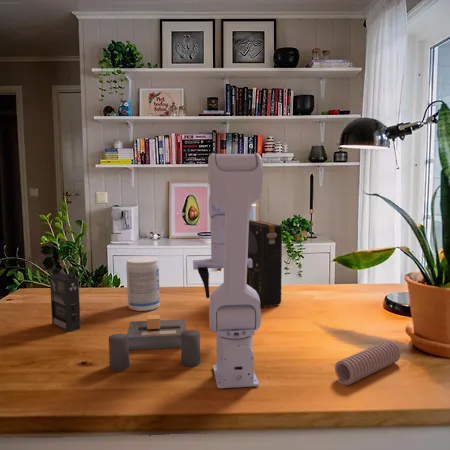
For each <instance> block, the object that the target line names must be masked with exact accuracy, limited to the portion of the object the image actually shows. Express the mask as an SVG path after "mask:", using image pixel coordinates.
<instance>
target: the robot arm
mask: <svg viewBox="0 0 450 450" xmlns="http://www.w3.org/2000/svg"><path fill="white" fill-rule="evenodd" d="M207 160H208V161H207V175H208V176H207V179H208V185H209V191H210V193H209V196H208V213H209V217H210V249H211V250H210V254H211V255H210V258H207V259H195V260H193V261H192V263H193V265H192V266H193V270H197V271H198V274H199V277H200V278H201V279H200V280H201V281H202V284H203V286H204V291H205V297H206V299H209V303H208V317H209V318H208V319H209V321H208V322H209V329H210V331H212V333H215V334H216V337H215V338H216V342H215V343H216V347H215V348H216V364H213V366H212V369H213V373H214V379H215V384H216V387H217V388H218V389H228V388H229V389H230V388H247V387H250V388H251V387H259V385H260V382H259V381H258V377H257V375H256V373H255V369H254V368H255V355H254V351H253V341H254V340H253V339H254V337H253V336H255V331H258V330H259V329H260V327H261V325H262V324H261V321H262V316H261V315H262V311H261V307H260V299H259V295H258V294H257V292H256V290H254V289H253V288H252V287H250V286H249V285H247V284H246V283H247V275H248V272H249V269H248V268H252V259H247V258H248V232H249V220H250V214H251V210H252V205H253V204H254V203H256V202H257V201H259V200H261V197H262V195H261V194H262V193H263V177H264V176H263V175H264V165H263V159H262V156H261V155H260V154H259V153H258V152H255V153H215V152H211V153H210V154H209V156H208V159H207ZM209 269H223V282H222V283H221V284H220V285H218V287H215V288H214V289H213V290H212V291H211V293H210V286H209V285H210V272H209Z"/></svg>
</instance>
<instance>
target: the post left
mask: <svg viewBox="0 0 450 450" xmlns="http://www.w3.org/2000/svg"><path fill="white" fill-rule="evenodd" d="M129 352H130V350H129V343H128V335H127V333H115V334H111V335H110V336H108V355H109V357H108V358H109V359H108V360H109V369H110V370H112V371H115V372H116V371H117V372H119V371H120V372H121V371H125V370H127V369H128V368H129V367H130V356H129V355H130V353H129Z"/></svg>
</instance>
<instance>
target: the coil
mask: <svg viewBox="0 0 450 450" xmlns="http://www.w3.org/2000/svg"><path fill="white" fill-rule="evenodd" d="M400 358H401V349H400V347H399V346H398V344H397V343H396V342H394V341H393V340H385V341H382V342H380V343H379V344H376V345H373V346H371V347H369V348H366V349H364V350H362V351H359V352H357V353H354V354H353V355H350V356H348V357H345V358H342V359H341V360H340V359H339V360H338V361H336V362H335V366H334V370H335V371H334V372H335V375H336V376H337V378H338V380H337V383H338V384H340V385H342V386H346V387H347V386H350V385H351V384H354V383H356V382H358V381H360V380H363V379H364V378H366V377H368V376H370V375H372V374H374V373H376V372H379V371H381V370H383V369H385V368H386V367H387V368H388V367H389V366H391V365H393V364H395V363H397V362H398V361H399V360H400Z"/></svg>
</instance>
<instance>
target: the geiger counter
mask: <svg viewBox="0 0 450 450" xmlns="http://www.w3.org/2000/svg"><path fill="white" fill-rule="evenodd" d="M60 269H61V268H60V267H59V268H53V269H52V274H51V273H50V274H49V285H50V286H49V287H50V290H49V291H50V303H51V304H50V306H51V307H50V308H51V322H52V323H51V325H53V326H54V327H57V328H60V329H61V330H63V331H65V332H74V331H76V330H77V331H78V330H81V328H82V327H81V306H80V305H81V304H80V286H79V285H80V284H79V283H80V282H79V277H78V276H76V272H71V273H66V274H65V273H64V272H61V270H60Z"/></svg>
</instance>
